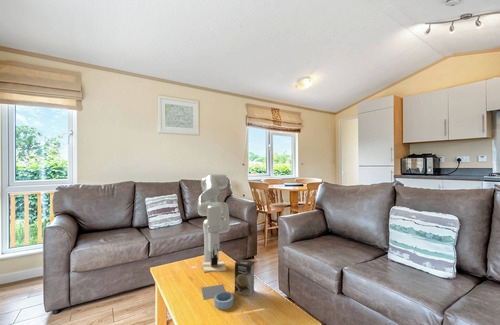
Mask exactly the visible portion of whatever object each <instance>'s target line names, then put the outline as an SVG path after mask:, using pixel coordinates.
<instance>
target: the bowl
mask: <svg viewBox="0 0 500 325" xmlns="http://www.w3.org/2000/svg"><path fill="white" fill-rule="evenodd" d="M225 291H226V290H225ZM225 291H224V292H219V293H217V294H216V295H215V296H214V298H213V304H214V307H215V309H217V310H222V311H223V310H225V311H226V310H228V309H230V308H232V307H233V305H234V295H233V293H232V292H230V291H226V292H225Z"/></svg>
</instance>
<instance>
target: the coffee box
mask: <svg viewBox="0 0 500 325" xmlns="http://www.w3.org/2000/svg"><path fill="white" fill-rule="evenodd" d="M254 291H255V261H254V260H248V259H241V258H239V259H238V260H236V261H235V263H234V293H236V294H241V295H245V296H252V295H253V292H254Z"/></svg>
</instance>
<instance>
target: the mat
mask: <svg viewBox="0 0 500 325" xmlns="http://www.w3.org/2000/svg"><path fill="white" fill-rule="evenodd" d="M224 291H225V292H227V290H226V288H225V285H224V283H222V284H217V285H210V286H204V287H201V292H202V298H203V301H205V300H210V299H212V300H214V296H215V295H216V294H217V293H219V292H224Z"/></svg>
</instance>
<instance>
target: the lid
mask: <svg viewBox="0 0 500 325" xmlns="http://www.w3.org/2000/svg"><path fill="white" fill-rule="evenodd" d="M213 254H214V253H213ZM211 257H212V253H211ZM202 264H203V268H204V269H203V268H202V269H203V273H204V274H207V273H209V274H210V273H216V272H224V271H227V268H226V265H225V262H224V260H223V259H219V260H218V264H217V265H212V264H211V261H209V262H204V261H202ZM202 264H201V265H202Z"/></svg>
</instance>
